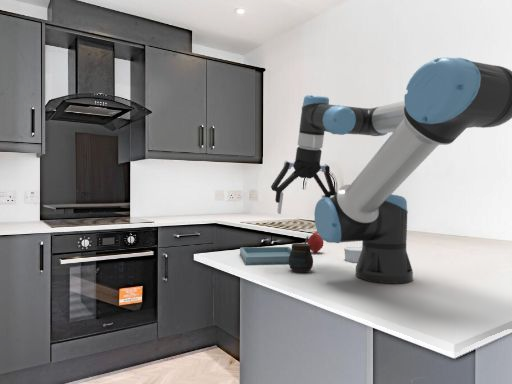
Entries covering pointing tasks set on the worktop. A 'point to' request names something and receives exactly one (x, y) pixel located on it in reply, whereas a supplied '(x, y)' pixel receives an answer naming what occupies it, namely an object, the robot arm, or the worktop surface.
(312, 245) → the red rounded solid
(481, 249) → the worktop surface
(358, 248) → the ramekin
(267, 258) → the slate tray
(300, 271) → the mate gourd
